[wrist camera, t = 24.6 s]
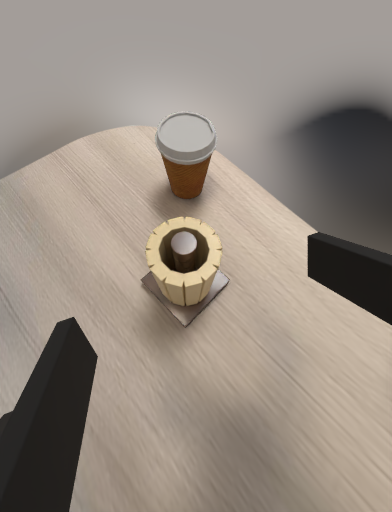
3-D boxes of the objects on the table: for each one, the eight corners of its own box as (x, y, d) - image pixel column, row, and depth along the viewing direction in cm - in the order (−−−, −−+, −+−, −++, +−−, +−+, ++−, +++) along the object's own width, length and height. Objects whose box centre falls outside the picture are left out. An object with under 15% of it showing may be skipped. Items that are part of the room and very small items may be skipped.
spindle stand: (142, 282, 35) (111, 242, 21) (186, 243, 38) (184, 185, 24) (185, 327, 32) (182, 316, 18) (228, 282, 35) (254, 243, 21)
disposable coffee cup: (204, 210, 40) (210, 160, 29) (156, 199, 41) (144, 146, 30) (215, 173, 44) (224, 115, 33) (170, 163, 44) (164, 104, 33)
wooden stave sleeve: (149, 280, 33) (130, 249, 22) (185, 247, 36) (184, 204, 24) (185, 317, 31) (183, 303, 20) (221, 280, 34) (237, 249, 23)
